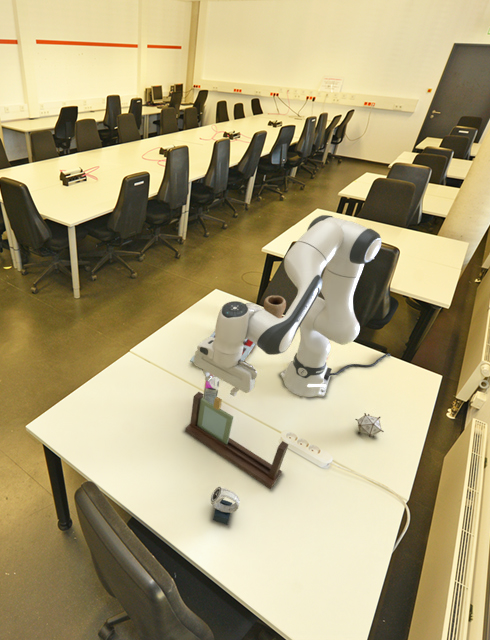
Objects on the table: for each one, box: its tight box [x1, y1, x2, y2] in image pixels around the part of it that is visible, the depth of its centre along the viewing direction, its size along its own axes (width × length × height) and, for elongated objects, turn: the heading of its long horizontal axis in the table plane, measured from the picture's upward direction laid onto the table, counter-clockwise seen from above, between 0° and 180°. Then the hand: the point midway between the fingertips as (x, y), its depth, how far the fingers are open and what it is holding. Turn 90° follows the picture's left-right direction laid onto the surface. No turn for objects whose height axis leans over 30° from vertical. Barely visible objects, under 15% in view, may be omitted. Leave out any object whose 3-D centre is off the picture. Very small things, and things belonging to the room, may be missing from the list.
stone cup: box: [263, 294, 287, 318], centre depth 194 cm, size 15×12×15 cm
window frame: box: [184, 391, 289, 490], centre depth 129 cm, size 7×34×17 cm, turn 48°
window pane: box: [197, 396, 234, 445], centre depth 132 cm, size 1×12×18 cm, turn 48°
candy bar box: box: [203, 374, 220, 405], centre depth 145 cm, size 11×5×16 cm, turn 168°
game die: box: [355, 412, 384, 438], centre depth 140 cm, size 9×8×10 cm
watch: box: [210, 486, 240, 526], centre depth 113 cm, size 6×8×11 cm
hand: (220, 387), depth 124 cm, fingers open, 8 cm apart
